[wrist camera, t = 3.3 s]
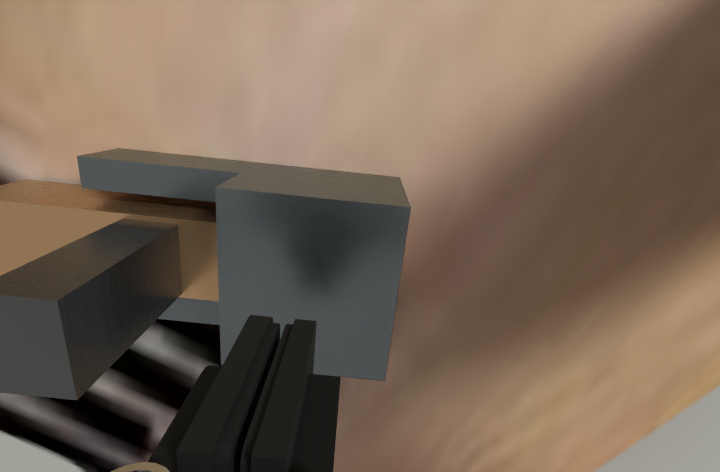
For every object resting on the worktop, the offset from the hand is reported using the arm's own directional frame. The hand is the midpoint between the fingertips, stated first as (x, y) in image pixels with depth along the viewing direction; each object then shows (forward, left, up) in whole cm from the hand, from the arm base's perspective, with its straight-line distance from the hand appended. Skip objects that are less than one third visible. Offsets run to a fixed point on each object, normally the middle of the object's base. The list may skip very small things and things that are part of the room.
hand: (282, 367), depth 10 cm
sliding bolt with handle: (+5, 0, -8) cm, 9 cm away
